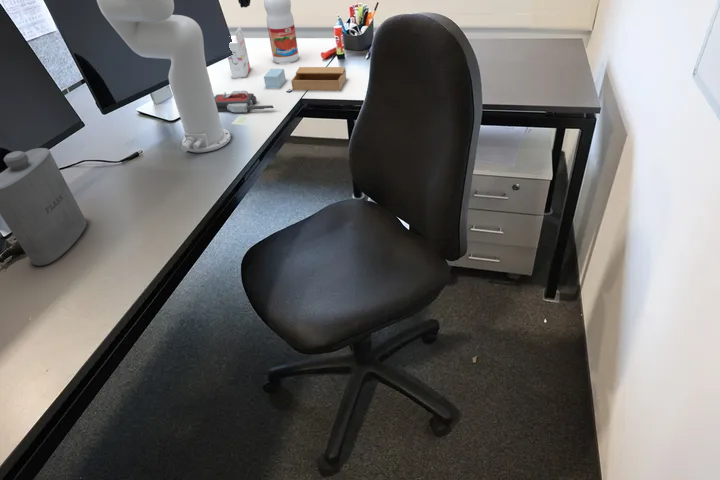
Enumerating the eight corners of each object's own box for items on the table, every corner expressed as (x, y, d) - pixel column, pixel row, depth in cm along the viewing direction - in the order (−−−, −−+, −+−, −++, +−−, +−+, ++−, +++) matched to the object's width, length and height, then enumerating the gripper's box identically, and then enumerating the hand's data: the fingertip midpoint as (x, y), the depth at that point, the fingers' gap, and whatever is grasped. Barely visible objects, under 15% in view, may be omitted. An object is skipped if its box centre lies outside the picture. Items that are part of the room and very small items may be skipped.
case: (279, 88, 156) (277, 76, 154) (265, 88, 157) (263, 76, 154) (285, 80, 161) (284, 68, 159) (272, 80, 162) (270, 68, 160)
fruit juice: (292, 53, 183) (279, -30, 165) (303, 60, 176) (291, -27, 159) (269, 59, 179) (254, -26, 162) (280, 66, 173) (265, -22, 155)
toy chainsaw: (207, 114, 144) (273, 113, 142) (203, 100, 141) (270, 98, 139) (216, 102, 150) (279, 100, 148) (213, 88, 148) (277, 86, 146)
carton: (301, 79, 161) (299, 69, 159) (346, 79, 158) (345, 69, 156) (292, 91, 154) (291, 80, 152) (339, 91, 151) (338, 80, 149)
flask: (55, 266, 92) (-1, 176, 80) (27, 266, 93) (-33, 177, 81) (95, 220, 104) (52, 135, 91) (70, 219, 105) (23, 135, 92)
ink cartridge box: (237, 69, 173) (227, 26, 164) (250, 68, 173) (241, 25, 163) (231, 78, 166) (221, 33, 157) (246, 77, 166) (236, 32, 157)
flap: (299, 68, 159) (299, 66, 159) (345, 68, 156) (345, 67, 156) (295, 73, 155) (295, 72, 155) (342, 74, 153) (342, 72, 152)
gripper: (198, -67, 126) (215, 10, 137) (252, -69, 123) (265, 9, 134) (211, -70, 132) (226, 3, 143) (263, -73, 129) (274, 2, 140)
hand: (245, 6), depth 139 cm, fingers closed
